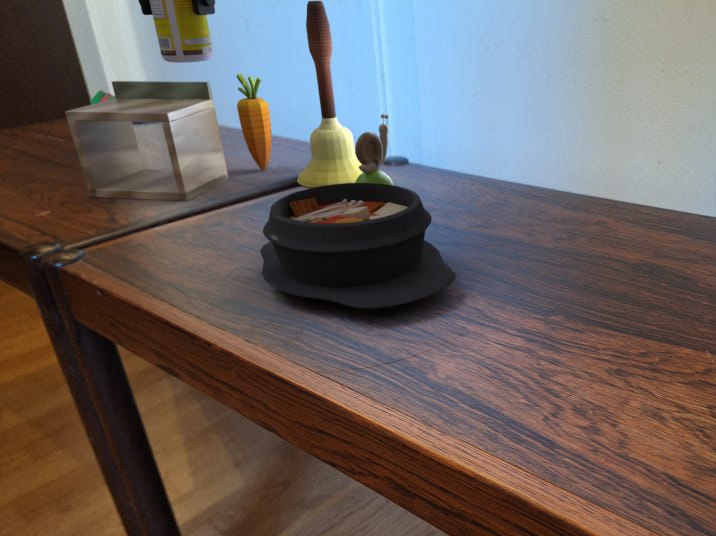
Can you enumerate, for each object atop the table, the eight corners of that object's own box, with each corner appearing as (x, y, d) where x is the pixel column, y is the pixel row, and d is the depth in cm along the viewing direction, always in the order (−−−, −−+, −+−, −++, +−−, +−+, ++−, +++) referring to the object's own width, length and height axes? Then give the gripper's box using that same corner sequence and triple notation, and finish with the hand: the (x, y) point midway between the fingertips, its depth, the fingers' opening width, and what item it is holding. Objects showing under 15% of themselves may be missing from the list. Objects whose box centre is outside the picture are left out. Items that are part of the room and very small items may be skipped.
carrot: (284, 169, 116) (269, 73, 108) (258, 175, 113) (241, 76, 105) (268, 165, 119) (252, 70, 111) (242, 170, 116) (224, 74, 108)
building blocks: (124, 142, 159) (152, 112, 153) (87, 125, 153) (115, 93, 147) (125, 117, 163) (152, 86, 157) (89, 99, 156) (116, 66, 150)
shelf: (90, 197, 104) (59, 93, 97) (139, 176, 114) (114, 80, 107) (187, 201, 101) (162, 94, 94) (228, 179, 111) (209, 81, 104)
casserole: (223, 269, 77) (207, 194, 73) (365, 230, 88) (358, 163, 84) (339, 348, 61) (327, 257, 57) (498, 289, 71) (498, 208, 67)
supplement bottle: (221, 57, 82) (204, -43, 77) (203, 63, 77) (183, -44, 72) (174, 57, 82) (153, -43, 77) (153, 63, 77) (130, -44, 72)
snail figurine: (408, 205, 97) (402, 115, 91) (378, 218, 92) (370, 124, 86) (378, 200, 99) (370, 112, 94) (347, 212, 95) (337, 120, 89)
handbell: (380, 167, 116) (365, -2, 104) (368, 187, 105) (349, 1, 93) (307, 168, 116) (283, 0, 104) (287, 188, 106) (258, 3, 93)
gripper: (34, -195, 67) (88, 16, 75) (196, -205, 63) (232, 16, 72) (88, -181, 73) (132, 12, 82) (238, -189, 70) (267, 12, 79)
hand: (179, 12), depth 77 cm, fingers closed on supplement bottle, 5 cm apart
